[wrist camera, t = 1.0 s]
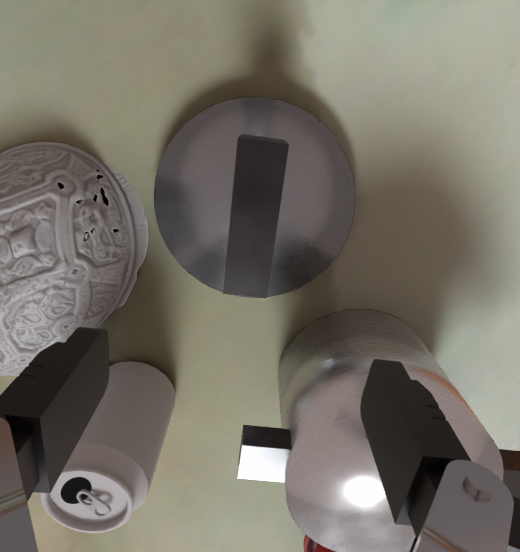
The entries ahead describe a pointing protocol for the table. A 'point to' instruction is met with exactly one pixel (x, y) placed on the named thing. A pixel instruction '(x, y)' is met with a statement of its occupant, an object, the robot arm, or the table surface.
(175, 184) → the lid
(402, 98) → the table surface
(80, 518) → the can
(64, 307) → the grey oval domed piece
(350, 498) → the cooker
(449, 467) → the robot arm
